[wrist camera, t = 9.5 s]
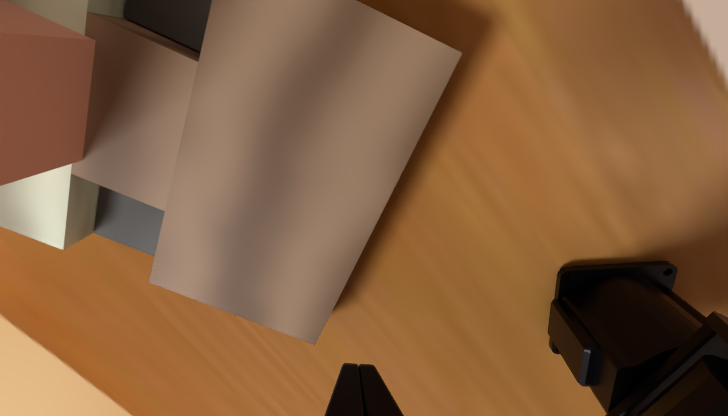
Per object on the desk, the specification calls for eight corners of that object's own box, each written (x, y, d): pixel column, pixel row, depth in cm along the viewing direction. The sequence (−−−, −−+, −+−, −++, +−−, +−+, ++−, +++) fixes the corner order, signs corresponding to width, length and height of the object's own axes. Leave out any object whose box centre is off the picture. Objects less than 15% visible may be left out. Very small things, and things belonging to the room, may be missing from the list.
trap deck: (452, 54, 17) (480, 50, 12) (321, 317, 24) (304, 386, 19) (-31, -184, 15) (-254, -318, 10) (-24, 183, 21) (-153, 220, 16)
